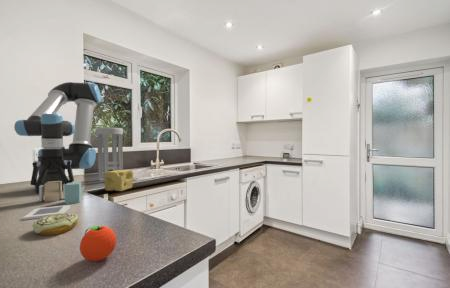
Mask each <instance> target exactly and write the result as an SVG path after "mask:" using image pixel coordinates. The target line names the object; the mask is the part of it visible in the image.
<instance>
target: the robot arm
mask: <svg viewBox="0 0 450 288" xmlns="http://www.w3.org/2000/svg"><path fill="white" fill-rule="evenodd" d="M99 88H100V87H98V85H97V84H96V83H91V82H70V81H68V82H64V83H60V84H57V85H56V86H55V87H53V88H52V89H51V90H50V91H48V93H47V97H46V98H45V100H44V101H42V103H41V104H40V105H39V106H38V107H37V108H36V109H35V110H34V111H33V113H32V114H31V115H29V117H28V118H27V119H19V120H16V121H15V123H14V126H13V127H14V128H13V129H14V131H15V133H16V134H17V135H19V136H24V137H25V136H26V137H41V138H40V139H41V148H40V149H39V150H38V153H37V161H34V162H32V167H33V168H32V173H31V180H30V185H31V186H34V191H35V192H36V194H38V195H39V196H38V197H39V200H38V201H39V202H43V201H45V194H44V184H45V183H47V182H52V181H62V199H63V200H65V185H66V184H67V183H74V181H75V178H74V173H73V170H85V169H90V168H92V167H93V166H94V164H95V162H96V158H97V151H96V149H95V148H94V146H93V145H92V144H91V137H92V126H93V120H94V119H93V117H94V108H95V107H97V104H99V103H101V101H102V96H101V95H102V94H101V91H100V89H99ZM70 102H71V103H72V102H73V103H74V104H75V105H76V111H75V119H74V120H75V121H74V123H72V122H70V121H69V120H64V119H63V115H62V114H60V113H59V114H58V113H57V112H59V110H60V109H61V107H62V106H64V105H66V104H67V103H70ZM72 135H73V136H72ZM71 136H72V142H71V143H69V144H68V148H66V146H64V138H63V137H71ZM66 171H67V174H68V177H67V175H66Z"/></svg>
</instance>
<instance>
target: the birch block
mask: <svg viewBox="0 0 450 288" xmlns="http://www.w3.org/2000/svg"><path fill="white" fill-rule="evenodd" d="M62 199H63V189H62V181H52V182H47V183H45V184H44V203H49V202H50V203H51V202H59V201H60V200H62Z"/></svg>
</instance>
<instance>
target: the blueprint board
mask: <svg viewBox="0 0 450 288" xmlns="http://www.w3.org/2000/svg"><path fill="white" fill-rule="evenodd" d="M71 205H72V204H63V205H55V206H47V207H37V208H34V209H33V210H31V211H30V212H29V213H27V214H26V215H24V216H23V217H22V221H27V220H36V219H37V220H38V219H41V218H43V217H46V216H50V215H55V214H60V213H68V211H69V210H70V208H71Z"/></svg>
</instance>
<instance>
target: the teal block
mask: <svg viewBox="0 0 450 288" xmlns="http://www.w3.org/2000/svg"><path fill="white" fill-rule="evenodd" d="M82 200H83V198H82V181H76V182H71V183H67V184H66V185H65V199H64V205H72V204H79V203H81V201H82Z"/></svg>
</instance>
